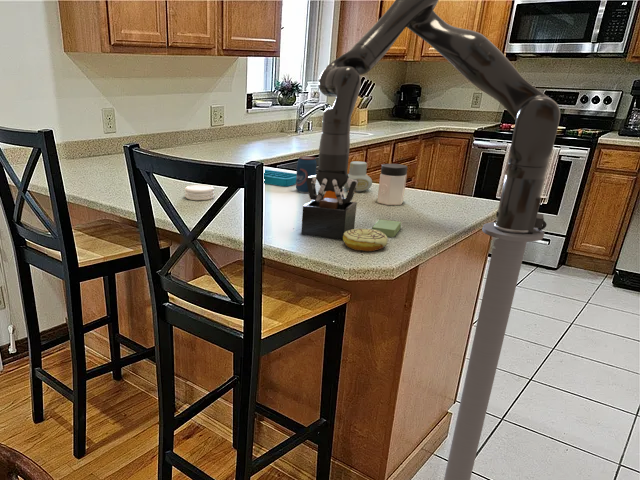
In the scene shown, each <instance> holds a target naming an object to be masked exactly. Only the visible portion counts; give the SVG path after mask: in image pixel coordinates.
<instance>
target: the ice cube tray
mask: <svg viewBox="0 0 640 480" xmlns="http://www.w3.org/2000/svg"><path fill="white" fill-rule="evenodd" d="M264 169H265V168H264ZM296 175H297V173H294V172H286V171H279V170H273V169H272V170H271V169H265V173H264V179H265V181H264V183H263V184H266V185H271V186H272V185H273V186H279V187H290V186H293V185H296Z"/></svg>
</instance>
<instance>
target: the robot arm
mask: <svg viewBox="0 0 640 480" xmlns="http://www.w3.org/2000/svg"><path fill="white" fill-rule="evenodd" d="M438 2H439V0H394V1H393V3H392V4H391V5H390V6H389V7H388V8H387V10H386V11H385V13H384V14H383V15H382V16H381V17H380V18H379V19H378V20H377V21H376V23H375V24H374V25H373V26H371V27H370V29H369V30H368V31H366V33H365V34H363V36H361V38H360V39H359V40H358V41H357V42H356V43H355V44H354V45H353V46H352V47H351V48H350V50H348V51H347V52H345V53H343V54H342V55H340V56H339V57H337V58H336V59H335V60H334V59H333V61H331V62H330V63H329V64H328V65H327V66H326V67H324V69H323V70H322V72H321V73H320V75H319V78H318V89H319V91H320V92H321V94H322V95H323V96H326V97H329V98H335V101H334V103H333V106H332V107H327V108H326V109H325V110H324V111H323V113H322V120H321V121H322V123H321V135H320V141H319V146H318V152H319V154H318V164H317V165H318V167H317V168H318V169H317V172H316V176H309V177H307V178H306V181H307V186H308V191H309V193H308V196H309V199H310V200H315V201H316V207H319V203H320V200H322V199H323V198H324V195H325V193H326V191H332V192H335V195H336V197H337V200H338V206H337V209H340V210H344V204H345V203H349V202H352V201H353V198H354V195H355V194H356V192H355V190H356V188H357V185H358V180H352V179H350V178H349V177H348V174H349V173H348V170H349V169H348V167H349V157H350V147H351V146H350V145H351V139H350V138H351V137H350V135H351V133H350V132H351V125H352V123H351V122H352V116H353V114H354V113H353V112H354V110H355V107H356V103H357V101H358V98H359V95H360V92H361V86H362V79H361V78H362V77H361V76H363V75H367V74H368V73H369V72H371V70H372V69H373V68H374V67H375V66H376V65H377V64H378V63H379V62H380V61H381V60H382V59H383V58H384V57H385V55H386V54H387V53H388V51H390V49H391V48H392V46H393V45H394V43H395V42H396V41H397V39H399V37H400V35H401V34H402V33H403V32H404V31H405V29H406V28H407V29H408V30H410V31H411V32H412V33H414V34H415V35H416V36H418V37H419V38H420V39H422V40H423V41H424V42H425V43H427V44H428V45H430V46H431V47H432V48H433V49H434V50H435V51H436V52H438V54H440V56H442V57H443V58H444V59H445V60H447V62H449V64H451V65H452V66H453V67H454V68H455V70H457V71H458V72H459V73H460V74H461V75H462V77H464V78H465V79H466V80H467V81H469V82H470V83H471V84H472V85H473V86H474V87H476V88H477V89H478V90H480V91H482V92H483V93H485V94H486V95H488V96H490V97H491V98H492V99H494V100H495V101H497V102H498V103H499V104H500V105H502V107H503V108H504V109H505V110H506V111H507V112H508V113H509V115H511V116H512V118H513V120H515V124H514V127H513V133H512V139H511V143H510V148H509V154H508V160H507V165H506V169H505V174H504V179H503V182H502V183H503V184H502V188H501V193H500V198H499V203H498V207H497V211H496V214H495V221H494V222H495V224H494V228H495V229H497V230H499V231H502V232H506V233H512V234H533V230H534V228H538V230H539V231H540V230H542V231H543V230H544V229H546V227H547V222H546V221H545V218H544V214H543V213H539V209H540V206H541V205H540V204H541V200H542V193H543V188H544V185H545V180H546V176H547V172H548V168H549V164H550V161H551V156H552V154H553V150H554V144H555V141H556V137H557V133H558V129H559V125H560V119H561V109H560V106H559V104H558V102H556V101H555V100H554V99H553V98H551V97H549V96H548V95H547V94H545V93H543V92H542V91H541V90H539V89H538V88H536V87H535V86H534V85H533V84H532V83H530V82H528V81H527V80H526V79H525V78H524V77H523V76H522V75H521V74H520V72H519V71H518V69H517V68H515V67H516V66H514V64H513V63H512V61H510V60H509V58H508V57H506V56H505V54H504V53H503V52H502V51H501V50H500V49H499V48H498V47H497V45H495V44H494V43H493V42H492V41H491V40H489V38H488V37H486V36H485V35H484V34H482V33H480V32H478V31H475V30H472V29H466V28H461V27H457V26H454V25H451V24H449V23H447V22H446V21H445V20H443V19H442V18H441V17H440V15H438V14H437V13H436V12H435V10H434V9H435V8H436V6H437V4H438ZM316 183H318V184H319V186H320V187H319V190H318V192H317V188H316ZM346 183H348V187H349V190H347V194H346V196H345V191H344V187H343V186H344V185H345V184H346ZM340 189H341V190H340ZM337 191H338V192H337Z"/></svg>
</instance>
